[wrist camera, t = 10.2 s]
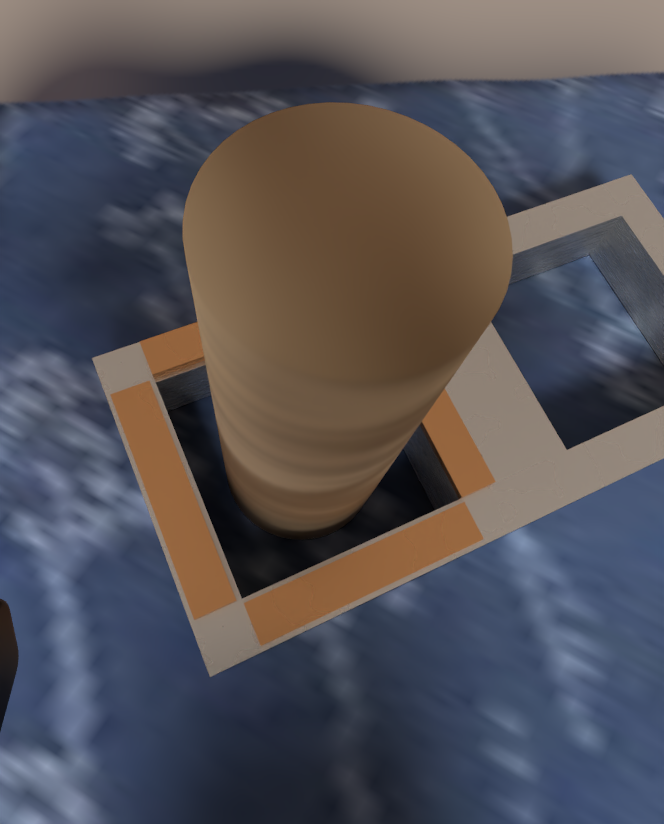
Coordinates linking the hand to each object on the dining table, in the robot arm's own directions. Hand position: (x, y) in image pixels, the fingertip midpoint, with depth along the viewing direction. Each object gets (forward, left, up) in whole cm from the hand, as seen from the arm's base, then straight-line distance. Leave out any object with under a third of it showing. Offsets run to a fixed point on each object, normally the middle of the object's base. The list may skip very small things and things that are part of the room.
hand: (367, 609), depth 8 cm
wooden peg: (+2, +5, -12) cm, 13 cm away
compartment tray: (+8, +5, -12) cm, 15 cm away
